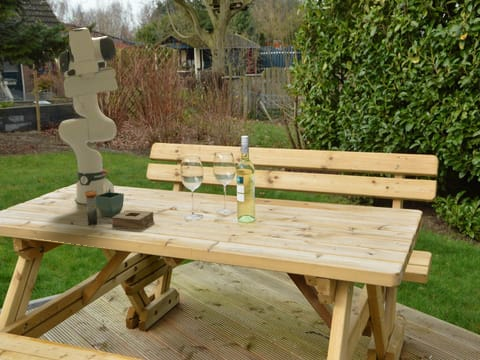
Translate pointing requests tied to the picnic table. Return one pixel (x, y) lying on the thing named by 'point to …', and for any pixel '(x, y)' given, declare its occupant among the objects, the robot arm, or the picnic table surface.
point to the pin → (91, 207)
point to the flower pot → (110, 203)
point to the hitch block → (132, 219)
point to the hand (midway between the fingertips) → (95, 105)
